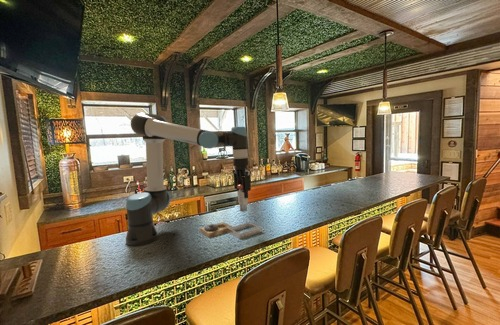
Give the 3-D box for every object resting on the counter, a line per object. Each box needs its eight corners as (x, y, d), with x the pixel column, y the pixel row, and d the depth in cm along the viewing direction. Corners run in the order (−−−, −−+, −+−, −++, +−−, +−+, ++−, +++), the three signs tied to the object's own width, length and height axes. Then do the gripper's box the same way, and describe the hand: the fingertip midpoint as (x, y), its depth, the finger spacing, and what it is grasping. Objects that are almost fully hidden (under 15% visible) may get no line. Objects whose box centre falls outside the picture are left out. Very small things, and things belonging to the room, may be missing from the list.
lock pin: (242, 212, 124) (240, 185, 123) (236, 210, 128) (235, 184, 127) (250, 210, 127) (249, 184, 126) (244, 208, 131) (243, 183, 130)
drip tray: (239, 240, 120) (239, 234, 120) (227, 234, 129) (227, 228, 129) (261, 233, 128) (260, 227, 128) (248, 228, 137) (248, 222, 137)
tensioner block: (208, 239, 124) (208, 229, 124) (200, 233, 132) (199, 224, 132) (232, 232, 132) (232, 222, 132) (223, 227, 140) (222, 218, 140)
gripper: (256, 157, 121) (259, 205, 123) (237, 156, 134) (240, 199, 136) (243, 158, 116) (246, 208, 118) (225, 158, 130) (228, 202, 132)
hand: (243, 203), depth 127 cm, fingers closed on lock pin, 4 cm apart
